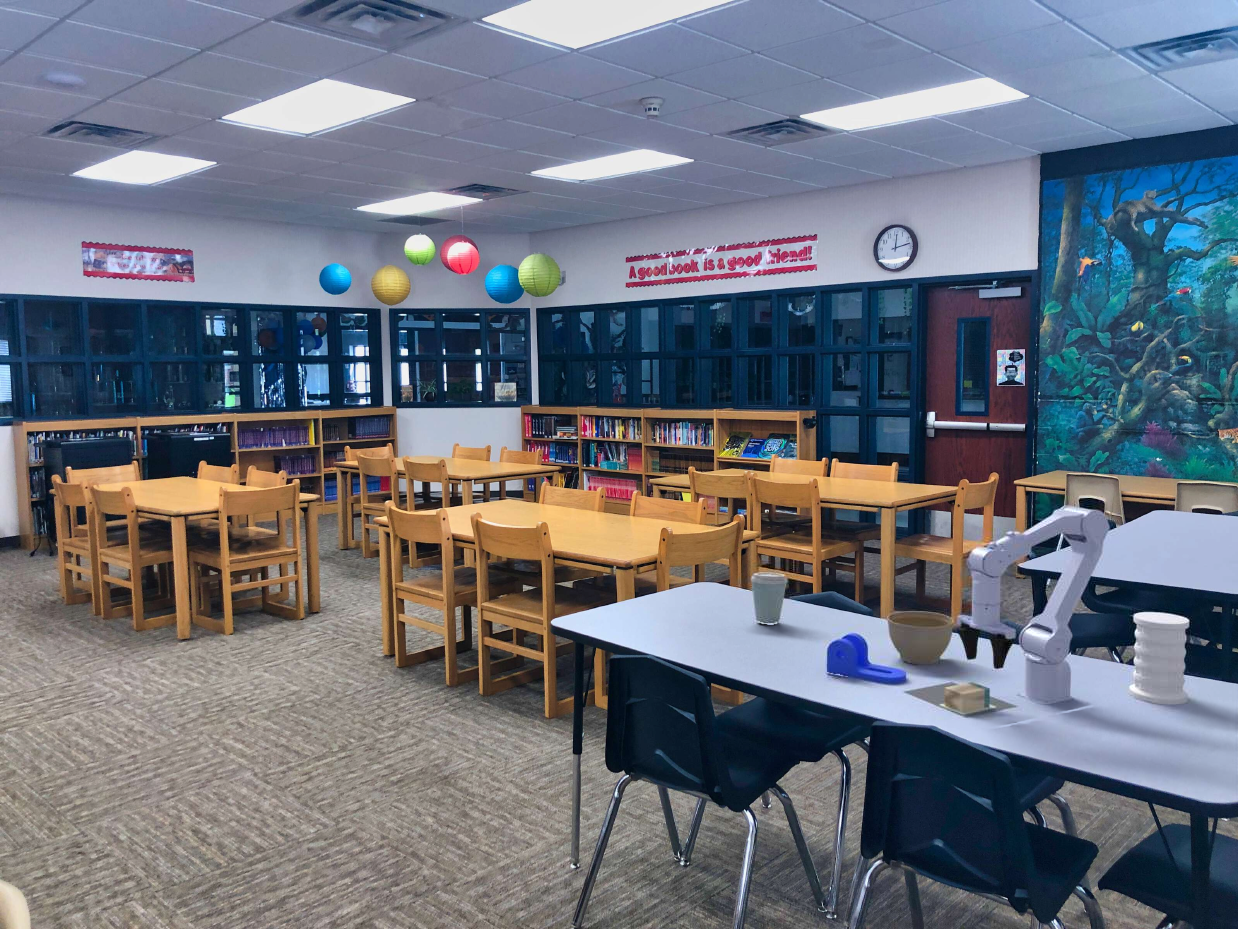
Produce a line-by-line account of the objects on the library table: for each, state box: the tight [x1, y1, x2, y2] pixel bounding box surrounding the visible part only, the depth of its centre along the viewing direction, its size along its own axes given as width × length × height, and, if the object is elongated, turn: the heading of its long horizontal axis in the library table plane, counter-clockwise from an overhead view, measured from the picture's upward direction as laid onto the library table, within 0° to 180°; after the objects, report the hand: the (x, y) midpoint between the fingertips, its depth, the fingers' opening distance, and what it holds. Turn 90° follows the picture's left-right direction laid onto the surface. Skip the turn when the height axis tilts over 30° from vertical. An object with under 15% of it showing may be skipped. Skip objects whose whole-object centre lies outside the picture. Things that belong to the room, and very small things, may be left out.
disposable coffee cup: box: [750, 572, 788, 623], centre depth 284 cm, size 11×11×15 cm
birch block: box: [944, 681, 991, 712], centre depth 210 cm, size 5×8×4 cm, turn 116°
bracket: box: [826, 632, 907, 685], centre depth 233 cm, size 18×8×9 cm, turn 52°
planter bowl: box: [886, 610, 955, 665], centre depth 245 cm, size 16×16×11 cm
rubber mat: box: [903, 681, 1018, 718], centre depth 215 cm, size 15×19×1 cm
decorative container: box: [1128, 611, 1190, 706], centre depth 216 cm, size 12×12×18 cm
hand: (984, 663), depth 211 cm, fingers open, 7 cm apart
